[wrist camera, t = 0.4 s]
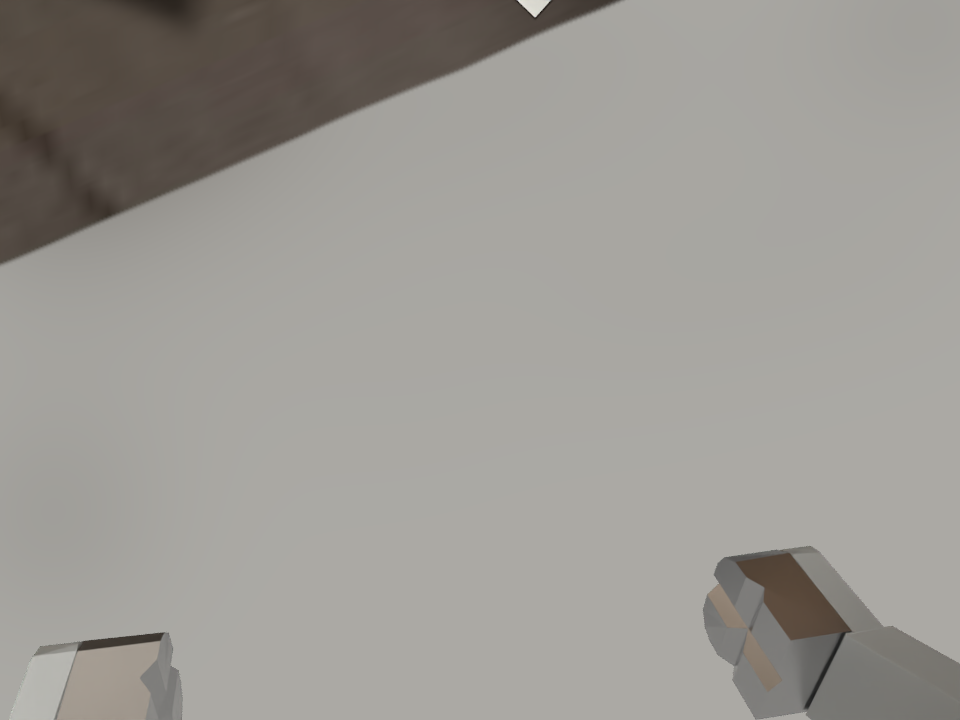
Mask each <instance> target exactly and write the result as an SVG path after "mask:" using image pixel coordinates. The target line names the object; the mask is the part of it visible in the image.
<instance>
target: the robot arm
mask: <svg viewBox="0 0 960 720" xmlns="http://www.w3.org/2000/svg"><path fill="white" fill-rule="evenodd" d="M714 576H715V577H716V579H717V580H718V582H719V584H718V585H717V586H716V587H715V588H714V589H712V591H710V592H709V593H708V594H707V598H706V601H705V604H704V608H703V612H704V623H705V629H706V631H707V634H708V637H709V640H710V642H711V644H712V645H713V647H714V649H715V651H716V652H717V654H718V655H719V656H720V657H722V658H723V659H725V660H726V661H728V662H729V663H731V664H732V665H733V666H734V672H733V682H734V684H735V685H736V687H737V688H738V690H739V692H740V694H741V695H742V697H743V699H744V700H745V702H746V704H747V706H748V707H749V709H750V710H751V712H752V714H753V716H754V717H755V719H763V718H769V717H776V716H782V715H788V714H795V713H801V712H807V713H806V716H808V717H809V718H810V719H811V720H960V664H959V663H958V662H956V661H954V660H952V659H950V658H949V657H947V656H945V655H943V654H941V653H940V652H938V651H936V650H934V649H933V648H931V647H929V646H927V645H925V644H924V643H922V642H920V641H918V640H916V639H914V638H913V637H911V636H909V635H907V634H906V633H904V632H902V631H900V630H898V629H897V628H895V627H893V626H888V627H883V626H882V625H881V623H880V622H879V621H878V620H877V618H876V617H875V616H874V615H873V614H872V613H871V612H870V610H869V609H868V608H867V607H866V606H865V604H864V603H863V602H862V601H861V600H860V599H859V597H858V596H857V595H856V594H855V593H854V592H853V590H852V589H851V588H850V587H849V586H848V585H847V583H846V582H845V581H844V580H843V579H842V577H841V576H840V575H839V574H838V573H837V571H836V570H835V569H834V568H833V567H832V566H831V564H830V563H829V562H828V561H827V560H826V559H825V557H824V556H823V555H822V554H821V553H820V552H819V551H818V550H816V549H815V548H813V547H811V546H806V547H799V548H792V549H783V550H771V551H765V552H758V553H752V554H745V555H738V556H731V557H725V558H723V559H722V560H721V561H720V562H719V563H718V564H717V567H716V570H715V573H714ZM172 653H173V646H172V643H171V639H170V636H169V633H165V632H164V633H155V634H145V635H137V636H126V637H118V638H108V639H98V640H89V641H82V642H74V643H66V644H58V645H48V646H40V648H39V649H38V650H37V652H36V653H35V654H34V656H33V657H32V658H31V660H30V663H29V666H28V669H27V671H26V674H25V676H24V679H23V682H22V684H21V687H20V690H19V693H18V695H17V698H16V701H15V704H14V706H13V709H12V712H11V715H10V717H9V720H182V689H181V680H180V676H179V671H178V670H177V669H175V668H174V667H172V666H170V665H171V659H172Z"/></svg>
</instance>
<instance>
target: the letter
mask: <svg viewBox="0 0 960 720" xmlns="http://www.w3.org/2000/svg"><path fill="white" fill-rule="evenodd" d="M517 1H518V2H519V3H520V4H522V5H523V6H524V7H525V8H526V9H527V10H528V11H529V12H530V13H531V14H532V15H533V16H534V17H536V16H537V15H538V14H539V13H540V12H541V10H542V9H543V8H544V7H545V6H546V5H547V4H548V3H549V2H550V0H517Z"/></svg>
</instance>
